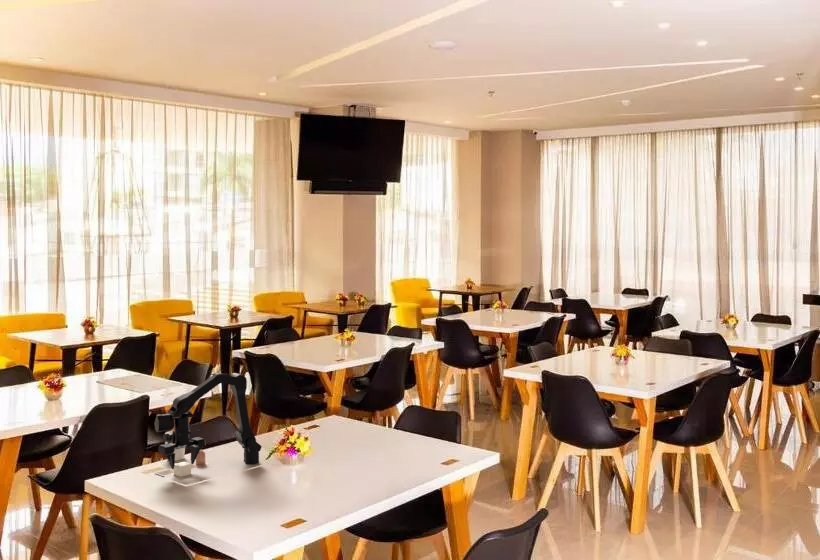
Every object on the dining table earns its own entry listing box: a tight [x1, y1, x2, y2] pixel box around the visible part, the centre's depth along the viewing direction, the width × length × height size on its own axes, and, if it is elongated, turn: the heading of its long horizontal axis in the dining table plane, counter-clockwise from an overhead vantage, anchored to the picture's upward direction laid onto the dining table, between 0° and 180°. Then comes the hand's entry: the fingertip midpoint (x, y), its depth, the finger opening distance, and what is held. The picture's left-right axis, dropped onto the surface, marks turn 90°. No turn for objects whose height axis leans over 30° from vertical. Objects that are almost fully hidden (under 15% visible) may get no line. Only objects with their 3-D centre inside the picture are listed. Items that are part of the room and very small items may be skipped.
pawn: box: [195, 449, 206, 466], centre depth 345 cm, size 4×4×6 cm
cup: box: [164, 429, 186, 461], centre depth 353 cm, size 9×9×12 cm
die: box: [173, 461, 192, 477], centre depth 330 cm, size 5×5×5 cm
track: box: [154, 461, 210, 478], centre depth 339 cm, size 23×6×1 cm, turn 138°
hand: (182, 466), depth 330 cm, fingers open, 9 cm apart
